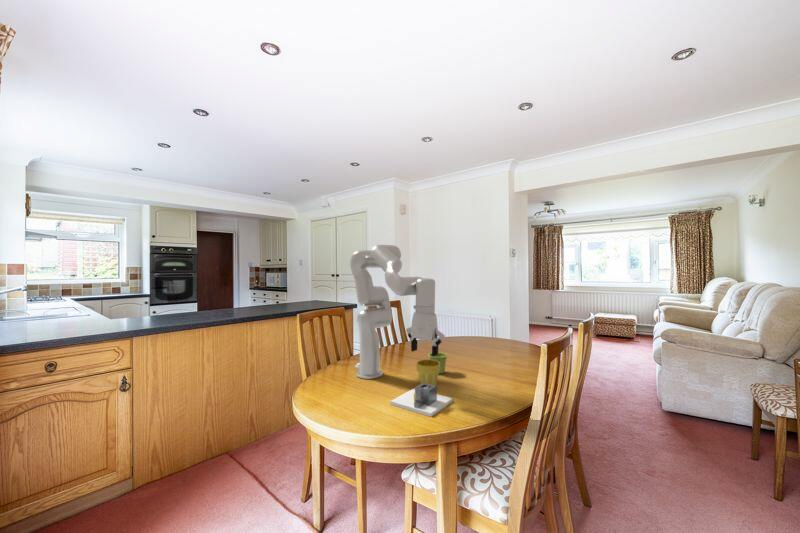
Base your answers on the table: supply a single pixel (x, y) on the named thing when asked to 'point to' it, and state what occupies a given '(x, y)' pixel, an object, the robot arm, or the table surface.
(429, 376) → the plant pot
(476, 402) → the table surface
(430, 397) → the grey socket block
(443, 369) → the plant pot
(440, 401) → the board
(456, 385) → the table surface
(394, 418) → the table surface
